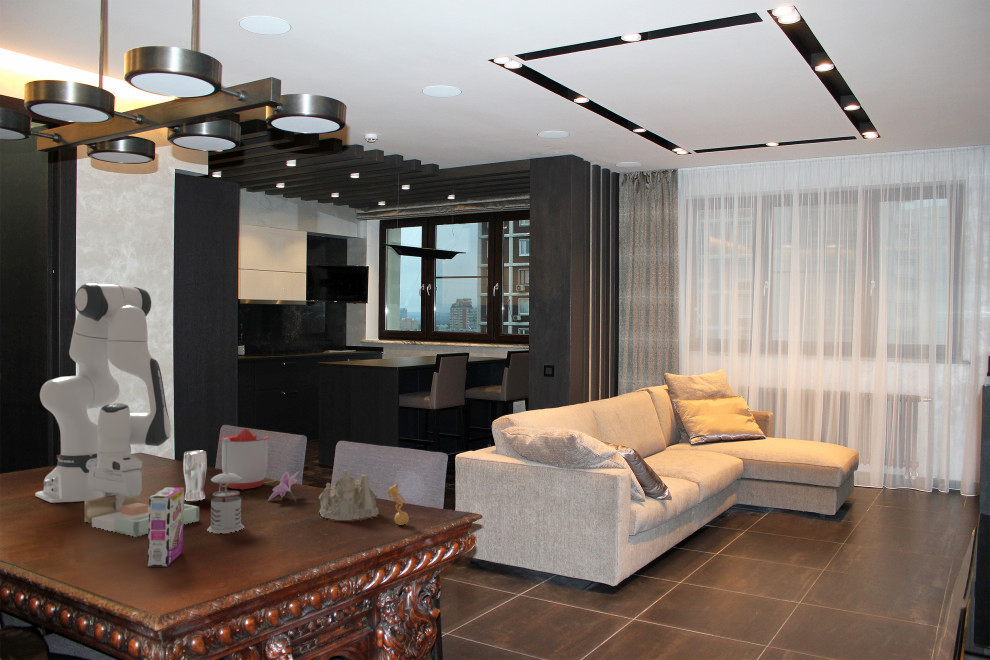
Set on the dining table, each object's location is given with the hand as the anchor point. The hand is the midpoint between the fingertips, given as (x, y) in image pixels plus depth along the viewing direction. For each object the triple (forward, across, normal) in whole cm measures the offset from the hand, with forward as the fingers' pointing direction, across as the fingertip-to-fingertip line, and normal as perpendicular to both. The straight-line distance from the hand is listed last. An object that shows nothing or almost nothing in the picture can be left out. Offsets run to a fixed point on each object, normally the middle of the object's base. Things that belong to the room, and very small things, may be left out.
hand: (113, 508), depth 223 cm
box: (+2, +20, 0) cm, 20 cm away
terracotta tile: (0, +10, 0) cm, 10 cm away
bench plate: (+2, +10, 0) cm, 10 cm away
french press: (+3, +36, +9) cm, 37 cm away
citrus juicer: (+3, -1, +50) cm, 50 cm away
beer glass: (+3, +1, +27) cm, 27 cm away
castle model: (+3, +55, +39) cm, 67 cm away
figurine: (+2, +75, +37) cm, 83 cm away
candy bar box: (+3, +47, -18) cm, 50 cm away
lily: (+3, +26, +42) cm, 49 cm away
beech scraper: (+2, 0, 0) cm, 2 cm away
